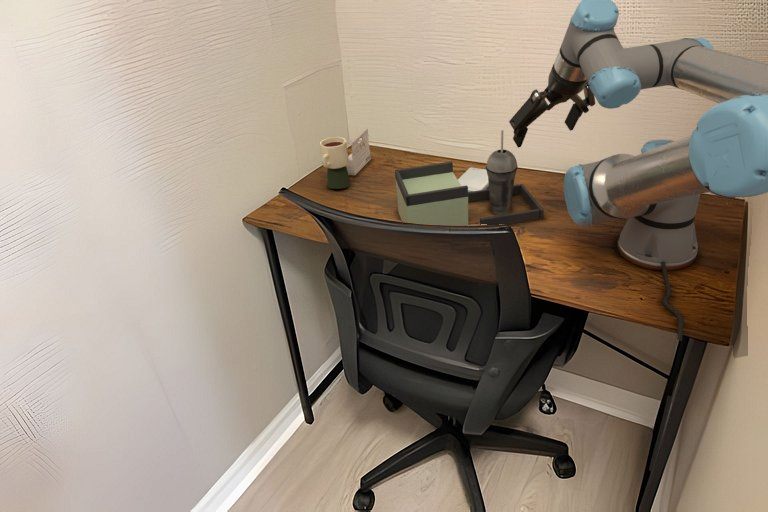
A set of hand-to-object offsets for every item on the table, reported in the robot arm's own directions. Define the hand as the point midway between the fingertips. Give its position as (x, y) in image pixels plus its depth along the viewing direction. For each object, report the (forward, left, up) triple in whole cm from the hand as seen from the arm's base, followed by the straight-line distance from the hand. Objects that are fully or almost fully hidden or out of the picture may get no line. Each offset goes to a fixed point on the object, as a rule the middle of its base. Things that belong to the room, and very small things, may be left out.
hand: (542, 134), depth 137 cm
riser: (-2, +19, -17) cm, 25 cm away
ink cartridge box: (+34, +41, -17) cm, 55 cm away
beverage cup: (-2, +11, -17) cm, 20 cm away
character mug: (+24, +48, -17) cm, 56 cm away
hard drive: (+13, +13, -17) cm, 25 cm away
